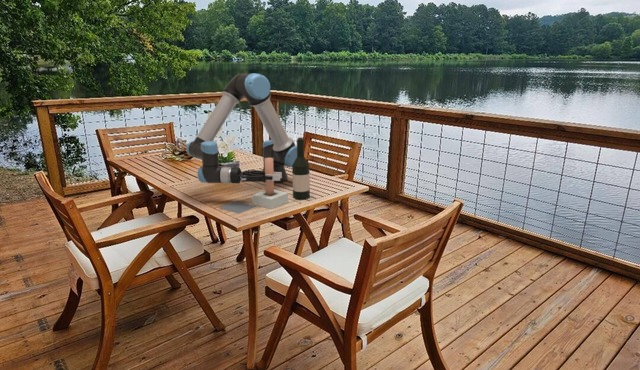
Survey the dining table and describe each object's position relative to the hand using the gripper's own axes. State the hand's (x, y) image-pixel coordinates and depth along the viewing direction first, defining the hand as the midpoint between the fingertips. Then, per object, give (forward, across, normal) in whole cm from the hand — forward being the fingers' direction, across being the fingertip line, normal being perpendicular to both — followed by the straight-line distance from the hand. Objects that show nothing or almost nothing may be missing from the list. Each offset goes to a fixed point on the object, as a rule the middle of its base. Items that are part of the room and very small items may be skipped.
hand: (280, 176), depth 196 cm
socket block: (-5, 0, -14) cm, 15 cm away
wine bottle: (+8, -11, -14) cm, 19 cm away
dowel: (-5, 0, -10) cm, 11 cm away
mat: (-20, +6, -14) cm, 25 cm away
